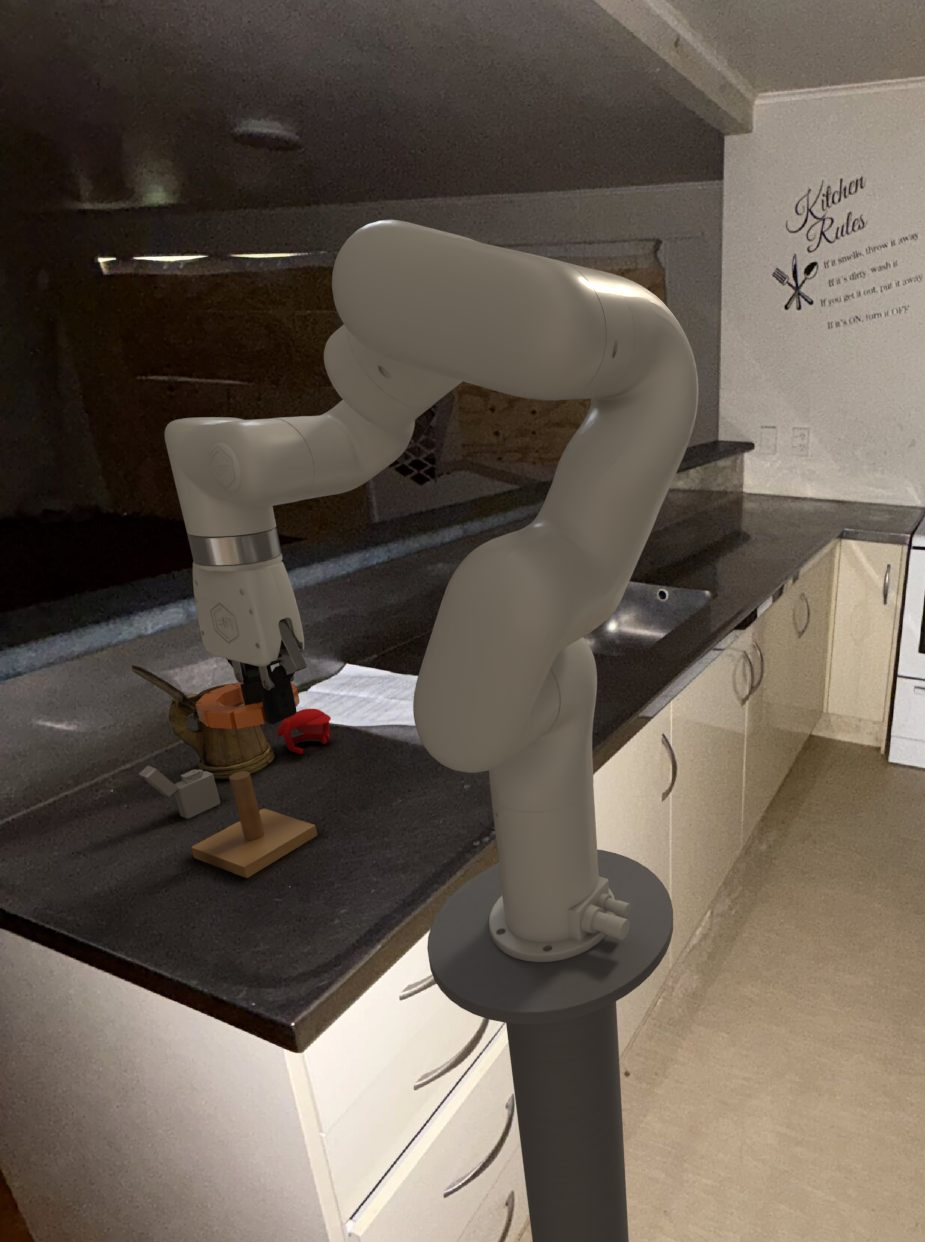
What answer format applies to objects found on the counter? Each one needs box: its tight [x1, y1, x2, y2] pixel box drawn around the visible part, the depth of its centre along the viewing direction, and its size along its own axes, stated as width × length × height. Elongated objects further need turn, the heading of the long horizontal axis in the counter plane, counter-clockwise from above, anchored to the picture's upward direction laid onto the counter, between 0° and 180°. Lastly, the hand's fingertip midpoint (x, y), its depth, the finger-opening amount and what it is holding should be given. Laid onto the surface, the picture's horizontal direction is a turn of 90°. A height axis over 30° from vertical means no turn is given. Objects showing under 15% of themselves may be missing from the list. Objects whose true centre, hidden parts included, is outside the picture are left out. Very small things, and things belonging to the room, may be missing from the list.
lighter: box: [138, 765, 221, 819], centre depth 92 cm, size 7×2×8 cm, turn 153°
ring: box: [196, 681, 300, 729], centre depth 82 cm, size 9×10×2 cm
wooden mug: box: [131, 664, 275, 781], centre depth 101 cm, size 9×14×18 cm, turn 148°
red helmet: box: [276, 708, 332, 755], centre depth 110 cm, size 8×6×6 cm
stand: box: [190, 771, 318, 879], centre depth 86 cm, size 9×9×10 cm
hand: (272, 714), depth 81 cm, fingers closed on ring, 2 cm apart
